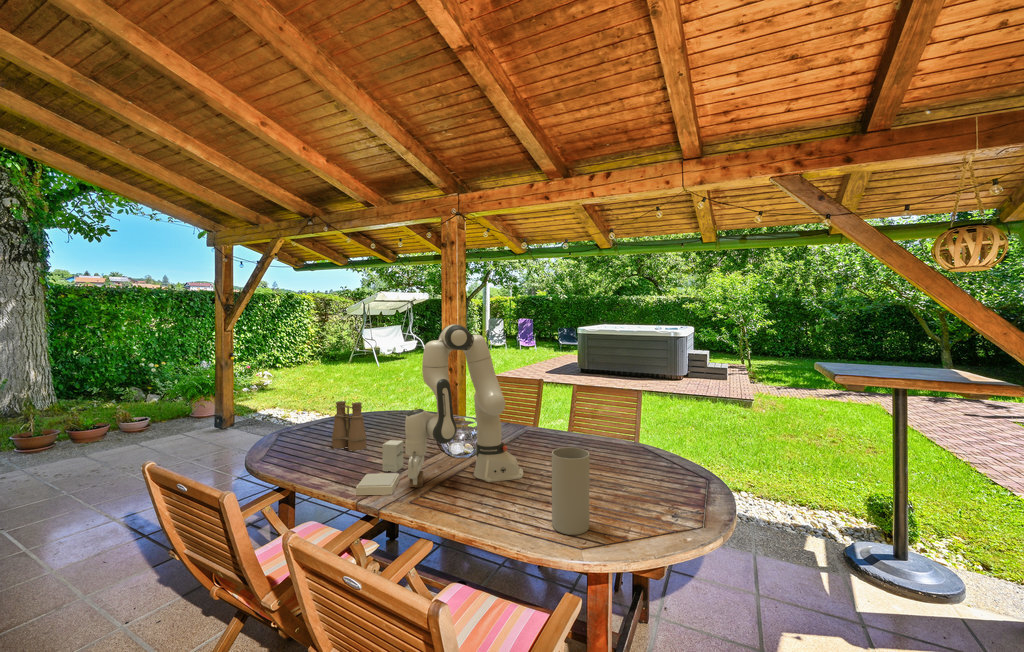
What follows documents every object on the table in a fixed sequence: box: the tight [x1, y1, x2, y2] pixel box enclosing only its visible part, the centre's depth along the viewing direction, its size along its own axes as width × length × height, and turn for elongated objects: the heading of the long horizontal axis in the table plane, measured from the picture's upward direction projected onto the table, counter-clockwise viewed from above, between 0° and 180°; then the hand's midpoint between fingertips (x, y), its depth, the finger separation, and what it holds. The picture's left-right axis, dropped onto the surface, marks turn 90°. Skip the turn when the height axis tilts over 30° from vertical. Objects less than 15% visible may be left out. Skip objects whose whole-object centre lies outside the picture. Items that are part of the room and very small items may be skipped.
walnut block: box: [408, 470, 424, 488], centre depth 177 cm, size 5×5×5 cm
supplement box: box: [381, 439, 404, 473], centre depth 197 cm, size 7×7×13 cm
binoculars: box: [330, 400, 368, 451], centre depth 229 cm, size 21×10×25 cm, turn 70°
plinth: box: [355, 472, 400, 496], centre depth 174 cm, size 14×14×4 cm
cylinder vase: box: [551, 446, 590, 536], centre depth 142 cm, size 12×12×25 cm
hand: (416, 481), depth 177 cm, fingers closed on walnut block, 5 cm apart
